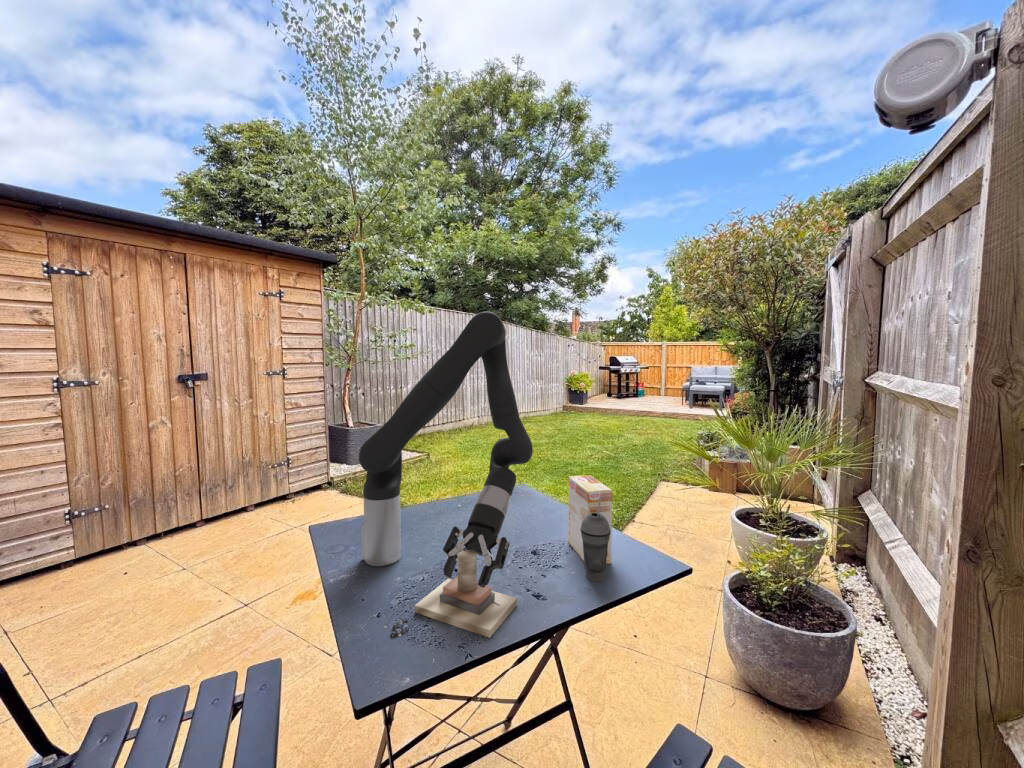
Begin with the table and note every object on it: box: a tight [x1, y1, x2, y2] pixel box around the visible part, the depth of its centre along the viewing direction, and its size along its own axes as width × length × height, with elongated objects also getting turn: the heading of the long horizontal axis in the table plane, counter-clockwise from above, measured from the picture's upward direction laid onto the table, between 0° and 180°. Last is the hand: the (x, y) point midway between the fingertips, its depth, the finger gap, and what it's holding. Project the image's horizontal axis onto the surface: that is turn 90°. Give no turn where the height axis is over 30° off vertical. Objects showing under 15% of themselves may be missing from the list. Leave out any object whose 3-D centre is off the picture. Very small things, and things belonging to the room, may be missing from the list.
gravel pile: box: [383, 618, 410, 639], centre depth 82 cm, size 7×8×2 cm
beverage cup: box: [580, 497, 611, 582], centre depth 101 cm, size 7×7×20 cm
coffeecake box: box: [567, 474, 613, 565], centre depth 114 cm, size 15×7×20 cm, turn 12°
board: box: [414, 578, 518, 638], centre depth 88 cm, size 18×12×2 cm, turn 64°
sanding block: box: [440, 551, 495, 615], centre depth 88 cm, size 10×6×10 cm, turn 62°
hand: (463, 581), depth 87 cm, fingers open, 8 cm apart
